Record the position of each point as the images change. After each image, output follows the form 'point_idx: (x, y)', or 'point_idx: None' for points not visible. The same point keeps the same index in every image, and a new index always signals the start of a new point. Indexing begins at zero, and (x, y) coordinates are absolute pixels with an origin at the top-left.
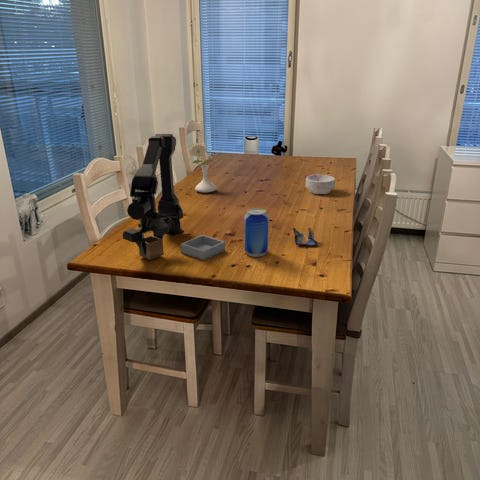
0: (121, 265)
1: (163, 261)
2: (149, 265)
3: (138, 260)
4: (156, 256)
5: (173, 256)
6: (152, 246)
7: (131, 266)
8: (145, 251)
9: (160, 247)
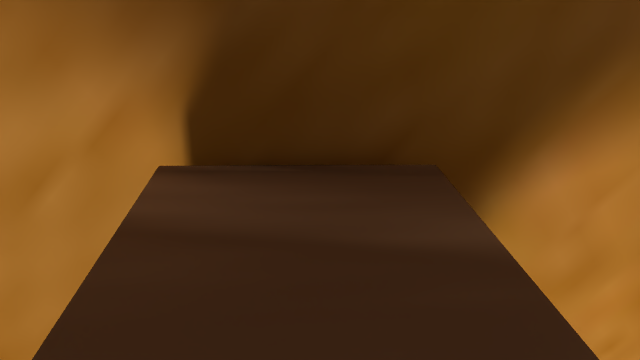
0: (629, 326)
1: (287, 23)
2: (510, 92)
3: None
4: (317, 175)
5: (32, 36)
6: (460, 328)
7: (619, 241)
8: None
9: (188, 253)
